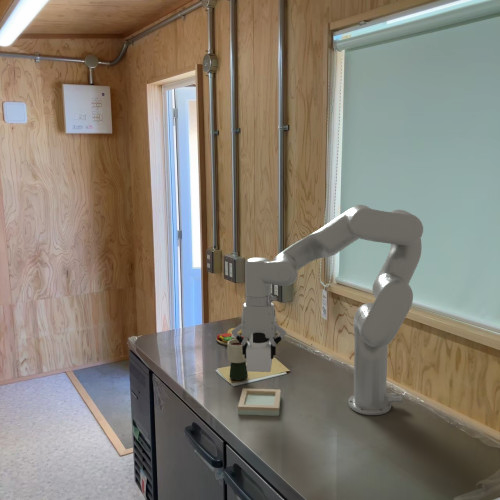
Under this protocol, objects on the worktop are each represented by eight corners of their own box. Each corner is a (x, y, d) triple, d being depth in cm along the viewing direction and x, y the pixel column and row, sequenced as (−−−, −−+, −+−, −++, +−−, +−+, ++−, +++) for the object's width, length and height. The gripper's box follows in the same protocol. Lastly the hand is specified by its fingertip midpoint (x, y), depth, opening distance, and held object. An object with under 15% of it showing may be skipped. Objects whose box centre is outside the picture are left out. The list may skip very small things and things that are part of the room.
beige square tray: (280, 396, 166) (280, 389, 165) (278, 415, 154) (278, 407, 153) (242, 395, 167) (242, 388, 166) (238, 414, 155) (238, 406, 155)
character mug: (255, 382, 177) (254, 345, 174) (235, 386, 174) (234, 349, 171) (241, 370, 186) (240, 335, 184) (223, 374, 183) (221, 338, 181)
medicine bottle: (272, 362, 161) (271, 325, 159) (270, 372, 154) (270, 333, 152) (248, 362, 162) (248, 325, 160) (246, 371, 155) (245, 333, 153)
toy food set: (237, 333, 225) (237, 325, 224) (255, 341, 214) (255, 334, 214) (210, 339, 218) (210, 332, 217) (227, 349, 207) (227, 341, 206)
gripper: (288, 296, 157) (288, 353, 160) (230, 296, 159) (232, 351, 162) (287, 304, 150) (287, 362, 153) (227, 303, 151) (228, 361, 155)
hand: (259, 356), depth 157 cm, fingers closed on medicine bottle, 7 cm apart
